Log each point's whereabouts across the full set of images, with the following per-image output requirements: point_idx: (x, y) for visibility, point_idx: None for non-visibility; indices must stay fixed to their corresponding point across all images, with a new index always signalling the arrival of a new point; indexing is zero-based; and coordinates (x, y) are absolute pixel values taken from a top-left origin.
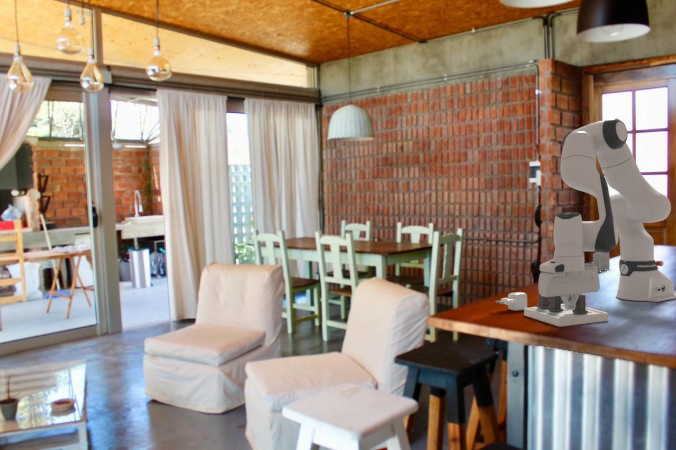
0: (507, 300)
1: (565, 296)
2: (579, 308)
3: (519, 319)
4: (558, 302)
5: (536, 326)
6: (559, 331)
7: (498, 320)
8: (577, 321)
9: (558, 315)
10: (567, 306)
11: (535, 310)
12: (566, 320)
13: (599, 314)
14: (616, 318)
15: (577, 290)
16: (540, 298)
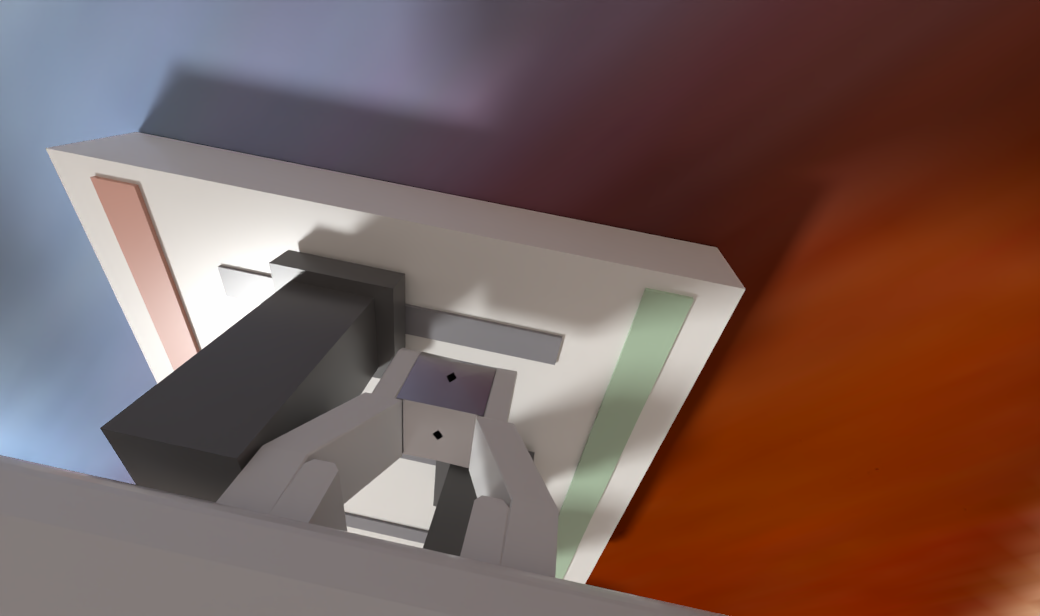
0: None
1: (546, 554)
2: (358, 319)
3: (693, 524)
4: (459, 528)
5: (843, 367)
6: (965, 82)
7: (811, 571)
8: (490, 214)
9: (620, 368)
10: (512, 398)
11: (582, 546)
12: (634, 252)
13: (173, 170)
14: (26, 154)
15: (194, 603)
16: None
